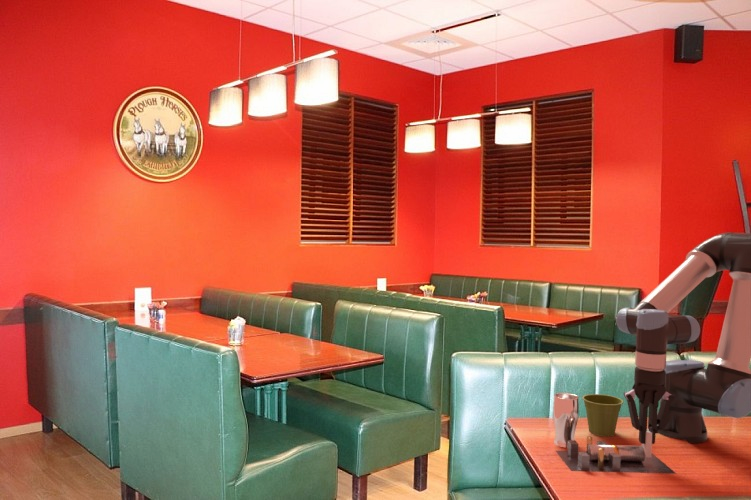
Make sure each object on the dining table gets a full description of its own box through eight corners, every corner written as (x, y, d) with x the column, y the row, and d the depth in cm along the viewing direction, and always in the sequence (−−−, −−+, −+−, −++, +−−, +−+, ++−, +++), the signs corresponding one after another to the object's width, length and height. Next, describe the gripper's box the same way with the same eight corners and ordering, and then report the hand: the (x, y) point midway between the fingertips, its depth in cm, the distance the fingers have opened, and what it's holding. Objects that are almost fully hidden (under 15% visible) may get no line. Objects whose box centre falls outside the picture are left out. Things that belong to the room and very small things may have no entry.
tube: (639, 462, 167) (637, 446, 168) (646, 460, 163) (643, 444, 165) (588, 461, 167) (586, 445, 168) (593, 459, 163) (591, 443, 165)
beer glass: (578, 452, 174) (580, 400, 173) (552, 450, 175) (554, 398, 174) (575, 444, 180) (577, 393, 180) (551, 442, 182) (552, 391, 181)
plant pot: (612, 429, 195) (613, 393, 195) (628, 442, 183) (630, 405, 183) (575, 428, 195) (576, 393, 194) (589, 441, 183) (590, 404, 182)
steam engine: (652, 456, 172) (652, 435, 172) (676, 477, 158) (677, 454, 158) (555, 454, 172) (556, 433, 172) (571, 474, 158) (571, 451, 158)
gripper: (667, 365, 168) (663, 450, 168) (620, 364, 167) (616, 449, 168) (681, 371, 160) (677, 461, 161) (631, 370, 160) (627, 460, 161)
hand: (646, 455), depth 165 cm, fingers closed
